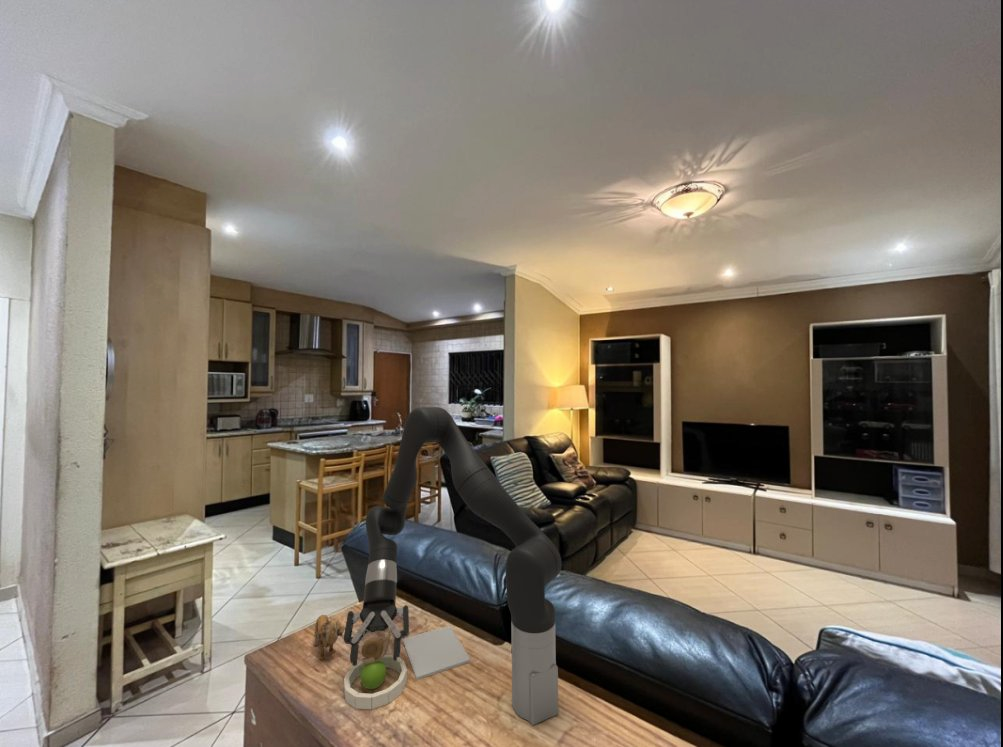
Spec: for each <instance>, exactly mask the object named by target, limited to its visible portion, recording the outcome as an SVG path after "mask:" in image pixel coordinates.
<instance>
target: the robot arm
mask: <svg viewBox="0 0 1003 747" xmlns="http://www.w3.org/2000/svg"><path fill="white" fill-rule="evenodd" d="M430 443H431V444H433V443H437V445H438V446H439V447H440V448H441V449H442V451H443V452H444V453H445V454H446V456H447V457H448V459H449V462H450V469H451V470H450V471H451V477H452V479H451V480H452V482H453V486H454V489H455V491H457V493H458V495H459V496H460V498H461V499H462V500H463V502H464V503H465V504H466V506H467V507H468V508H469V509H470V510H471V512H473V513H474V514H475V515H476V516H478V517H479V518H481V519H483V520H485V521H486V522H488V523H490V524H491V525H493V526H495V527H496V528H498V529H499V530H501V531H502V532H503V533H504V534H505V535H506V536H507V537H508V538H509V539H510V540H511V541H512V543H513V544H514V546H515V547H514V548H513V549H512V550H511V551H510V552H509V553H508V555H507V558H506V562H505V585H506V600H507V601H506V602H507V606H508V609H509V611H510V616H511V617H510V620H511V623H510V624H511V625H510V626H511V642H510V643H511V644H510V645H511V704H512V705H511V706H512V708H513V710H514V712H515V714H517V715H518V717H520V718H521V719H524V720H526V721H528V722H529V723H530V724H531V725H533V726H535V725H536V724H540V722H543V721H546V720H548V719H550V718H553V717H554V716H557V715H559V671H558V670H559V668H558V665H557V661H556V659H557V658H556V656H557V655H556V608H555V606H554V604H553V603H552V602H551V601H550V600H549V599H547V598H546V597H545V595H546V593H545V587H546V586H548V584H550V583H551V582H552V581H553V580H554V579H556V578H557V577H558V576H559V574H560V573H561V570H562V564H563V563H562V558H561V554H560V552H559V550H558V548H557V547H556V545H555V544H554V543H553V542H552V540H551V539H550V538H549V537H548V536H547V535H546V534H545V533H544V531H542V530H541V528H540V527H539V526H538V525H537V524H535V522H533V521H532V520H531V519H530V517H529V516H528V515H527V514H526V513H525V512H524V511H523V510H522V508H521V507H520V506H519V505H518V503H517V502H516V501H515V500H514V499H513V498H512V496H511V495H510V494H509V493H508V492H507V490H506V489H505V488H504V486H503V485H502V483H500V481H499V479H498V478H497V477H496V476H495V474H494V473H493V471H492V470H490V468H489V467H488V465H487V464H485V462H484V461H483V460H482V459H481V458H480V456H479V455H478V454H477V452H476V451H475V449H474V448H473V447H472V445H471V444H470V443H469V442H468V440H467V439H466V437H465V436H464V434H463V433H462V431H461V430H460V428H459V426H458V424H457V423H456V421H455V420H454V418H453V416H452V415H451V414H450V412H449V411H447V410H446V409H445V408H443V407H439V406H431V407H429V406H427V407H426V406H424V407H423V406H421V407H417V408H416V407H415V408H414V409H413V410H411V411H410V413H408V416H407V418H406V421H405V423H404V427H403V431H402V435H401V439H400V444H399V447H398V453H397V457H396V459H395V460H396V461H395V464H394V468H393V471H392V473H391V476H390V478H389V480H388V483H387V485H386V487H385V490H384V492H383V495H382V502H383V503H384V505H385V506H386V507H385V506H379V505H378V506H377V505H376V506H372V507H371V508H370V509H369V511H368V512H367V514H366V516H365V528H366V534H367V540H368V546H369V547H368V548H369V551H368V552H369V553H368V562H367V563H368V564H367V570H366V574H365V580H364V581H365V583H364V594H363V601H362V602H363V604H362V608H361V611H360V612H353V611H352V610H350V611H349V612H348V613H347V616H346V621H345V622H346V623H345V626H344V627H345V629H344V632H343V639H342V640H343V642H344V643H345V644H346V645H350V654H349V661H350V663H351V664H352V666H357V663H358V660H359V659H358V658H359V650H360V649H359V648H360V645H359V643H360V642H361V641H362V639H363V638H364V637H365V636H366V635H367V633H368V632H369V633H375V632H386V630H388V627H390V629H391V630H390V634H392V636H393V638H394V639H393V651H392V652H393V653H392V655H393V660H394V661H396V660H397V657H399V658H400V656H401V641H403V639H404V638H408V637H409V635H410V615H409V611H410V610H409V606H408V605H406V604H405V605H403V606H402V607H398V608H397V607H396V604H397V603H396V602H397V600H396V599H397V583H398V571H397V570H398V568H397V556H398V546H397V545H398V544H397V542H395V541H394V540H393V539H390V538H388V537H386V536H387V535H388V536H397V535H399V534H400V533H401V532H402V531H403V530H404V528H405V523H406V513H407V508H408V504H409V501H410V499H411V497H412V494H413V492H414V489H415V487H416V484H417V481H418V471H417V464H416V463H417V457H418V455H419V452H420V451H421V449H422V447H423V446H424V444H430ZM385 535H386V536H385ZM397 615H399V617H400V618H401V619H402V621H403V622H402V623H403V624H402V625H403V630H399V628H398V627H397V626H396V624H395V622H393V621H394V620H395V618H396V617H397ZM358 619H360V620H361V622H362V624H361V625H360V627H359V628H358V630H357V632H356V633H355V634H354V635H353V628H354V625H355V624H356V623H357V621H358Z"/></svg>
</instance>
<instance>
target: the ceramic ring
mask: <svg viewBox="0 0 1003 747" xmlns="http://www.w3.org/2000/svg"><path fill="white" fill-rule="evenodd" d="M380 660H382V661H383V662H384V664H385V666H386V669H387V668H389V669H392V670H395V671H396V672H398V673H399V677H398V679H397V680H396V681H395V682H394V683H392V684H391V685H390V686H389V687H388V688H386V689H384V690H380V691H377V692H374V693H364V692H363V693H361V692H358V691H357V690H355V689H353V688H352V687H351V686H352V685H353V683H354V682H355V680H356V679H357V678H359V677H361V671H362V668H363V666H364V665H365V664H366V663H364V662H363V661H362V659H361V660H360V661H357V666H353V665H352V666H351V667H350V668H349V670H348V671H347V673H346V675H345V676H344V678H343V694H344V701H345V703H347V704H348V705H350V707H353V709H355V710H374V709H378V708H380V707H383V706H386V705H389V704H390V703H392V702H393V701H394V700H395V699H396V698H398V697H399V696H400V695H402V693H403V692H404V691H403V690H404V688H405V687H406V684H407V682H408V681H407V680H408V674H407V673H408V670H407V666H406V663H405V661H404V659H402V658H401V657H400V656H399V657H397V660H396V661H394V660H393V653H391V654H387V653H386V654H385V655H384V657H382V658H381V659H380Z"/></svg>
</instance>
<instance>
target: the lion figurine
mask: <svg viewBox="0 0 1003 747" xmlns="http://www.w3.org/2000/svg"><path fill="white" fill-rule="evenodd" d="M345 627H346V626H342V625H341V624H339V622H338V620H337V619H333V620H329V616H328V615H326V614H321V615H319V616H318V617H317V619H316V621H315V626H314V629H315V630H314V634H315V636H314V642H313V646H312V647H317V646H318V648H319V649H318V650H319V656H318V659H319V660H324V659H325V658H326V657H325V647H326V648H328V652H329V654H331V655H333V654H334V653H335V652H336V649H334V644H335V642H336V641H337V640H338V637H342V636H343V634H344V633H345ZM337 642H338V641H337Z"/></svg>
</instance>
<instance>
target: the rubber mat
mask: <svg viewBox="0 0 1003 747" xmlns="http://www.w3.org/2000/svg"><path fill="white" fill-rule="evenodd" d="M403 642H404V643H403ZM402 643H403V646H404V645H405V646H404V648H406V649H405V652H406V651H407V652H406V654H408V655H407V658H408V660H409V662H410V665H411V668H412V669H411V670H412V671H413V674H414V677H415V680H416V681H418V680H421V679H424V678H426V677H430V676H434V675H436V674H438V673H441V672H442V673H443V672H445V671H448V670H450V669H454V668H456V667H459V666H463V665H466V664H469V663H471V658H470V657H469V654H468V653H467V652H466V649H465V648H464V646H463V645H462V642H461V641H460V639H459V638H458V636H457V634H456V632H455V630H454V629H453V627H452V625H447V626H444V627H440V628H436V629H433V630H428V631H426V632H422V633H419V634H415V635H412V636H407V637H404V638H402Z"/></svg>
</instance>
